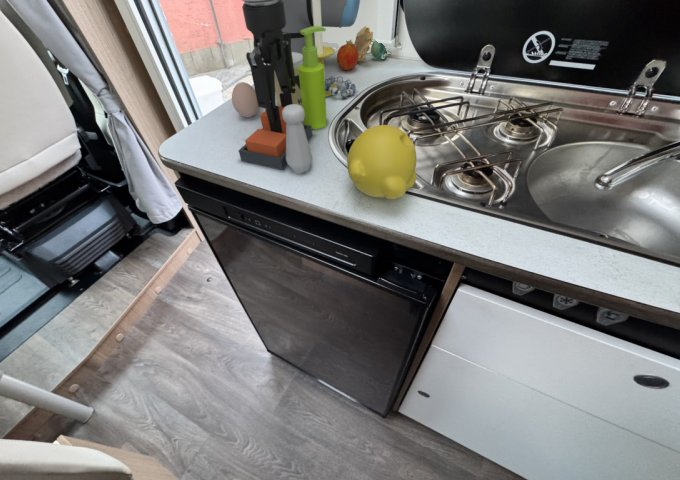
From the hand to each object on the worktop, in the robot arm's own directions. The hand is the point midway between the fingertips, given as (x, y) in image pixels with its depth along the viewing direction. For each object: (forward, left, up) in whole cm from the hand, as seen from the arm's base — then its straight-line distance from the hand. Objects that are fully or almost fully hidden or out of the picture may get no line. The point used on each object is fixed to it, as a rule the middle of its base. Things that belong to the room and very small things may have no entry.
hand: (283, 128), depth 71 cm
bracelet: (-29, +3, -2) cm, 30 cm away
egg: (-8, -16, -3) cm, 18 cm away
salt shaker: (+9, +9, -3) cm, 13 cm away
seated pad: (+7, 0, -2) cm, 8 cm away
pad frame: (+4, 0, -3) cm, 5 cm away
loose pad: (0, 0, 0) cm, 0 cm away
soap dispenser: (-10, +4, -3) cm, 12 cm away
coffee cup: (-17, -7, -3) cm, 18 cm away
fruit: (-46, -1, -3) cm, 47 cm away
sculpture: (+13, +32, -2) cm, 35 cm away
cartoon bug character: (-53, -2, +2) cm, 53 cm away
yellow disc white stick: (-29, -3, -3) cm, 30 cm away
